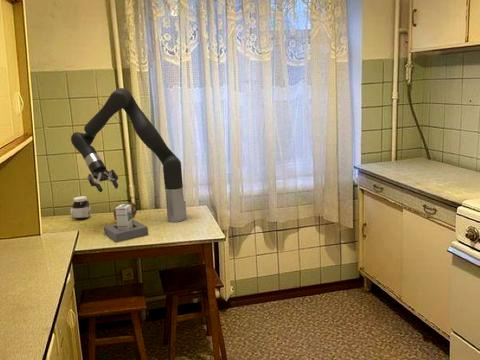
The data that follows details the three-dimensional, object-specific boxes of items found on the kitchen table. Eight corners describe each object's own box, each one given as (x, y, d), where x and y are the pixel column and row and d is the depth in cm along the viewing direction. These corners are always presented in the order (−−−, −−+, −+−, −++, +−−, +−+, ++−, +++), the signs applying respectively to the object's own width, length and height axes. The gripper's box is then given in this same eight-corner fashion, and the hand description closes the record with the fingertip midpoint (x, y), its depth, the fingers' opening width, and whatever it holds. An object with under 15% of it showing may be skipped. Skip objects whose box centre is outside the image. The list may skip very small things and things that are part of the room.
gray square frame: (135, 227, 255) (134, 219, 254) (148, 234, 242) (147, 226, 241) (104, 234, 246) (103, 226, 245) (116, 242, 233) (115, 234, 232)
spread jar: (84, 221, 270) (82, 200, 268) (65, 221, 272) (62, 200, 270) (94, 214, 282) (92, 194, 279) (75, 214, 284) (73, 194, 281)
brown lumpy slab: (117, 223, 263) (116, 208, 261) (113, 223, 264) (111, 207, 263) (137, 216, 275) (136, 201, 273) (133, 215, 277) (132, 200, 275)
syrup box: (129, 236, 241) (126, 207, 238) (118, 236, 242) (114, 207, 239) (134, 232, 246) (131, 204, 243) (123, 232, 247) (120, 204, 244)
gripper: (84, 161, 246) (98, 187, 240) (109, 157, 255) (124, 182, 250) (80, 171, 251) (94, 196, 245) (105, 166, 260) (119, 191, 255)
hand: (109, 189), depth 248 cm, fingers open, 8 cm apart
